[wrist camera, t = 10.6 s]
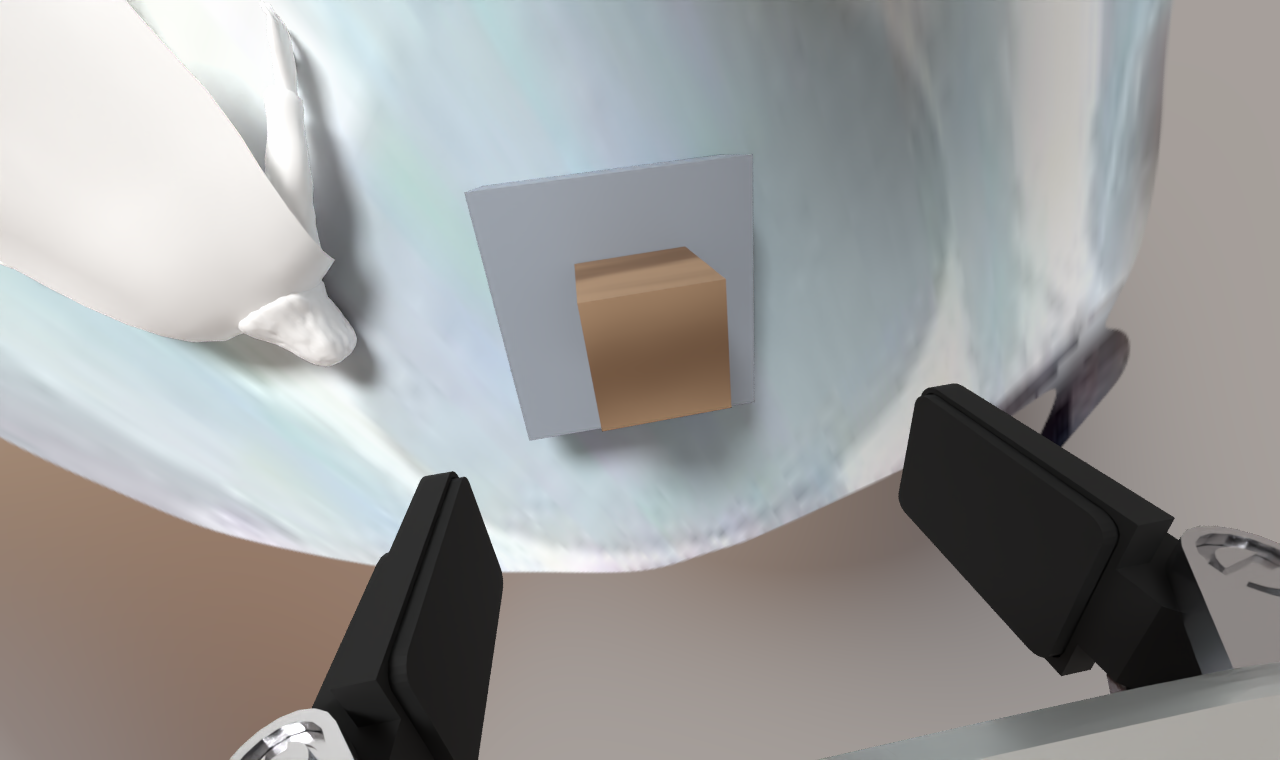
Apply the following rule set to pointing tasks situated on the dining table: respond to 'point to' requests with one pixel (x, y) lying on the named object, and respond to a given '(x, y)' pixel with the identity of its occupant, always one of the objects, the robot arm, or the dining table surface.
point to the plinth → (601, 229)
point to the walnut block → (654, 336)
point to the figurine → (157, 184)
